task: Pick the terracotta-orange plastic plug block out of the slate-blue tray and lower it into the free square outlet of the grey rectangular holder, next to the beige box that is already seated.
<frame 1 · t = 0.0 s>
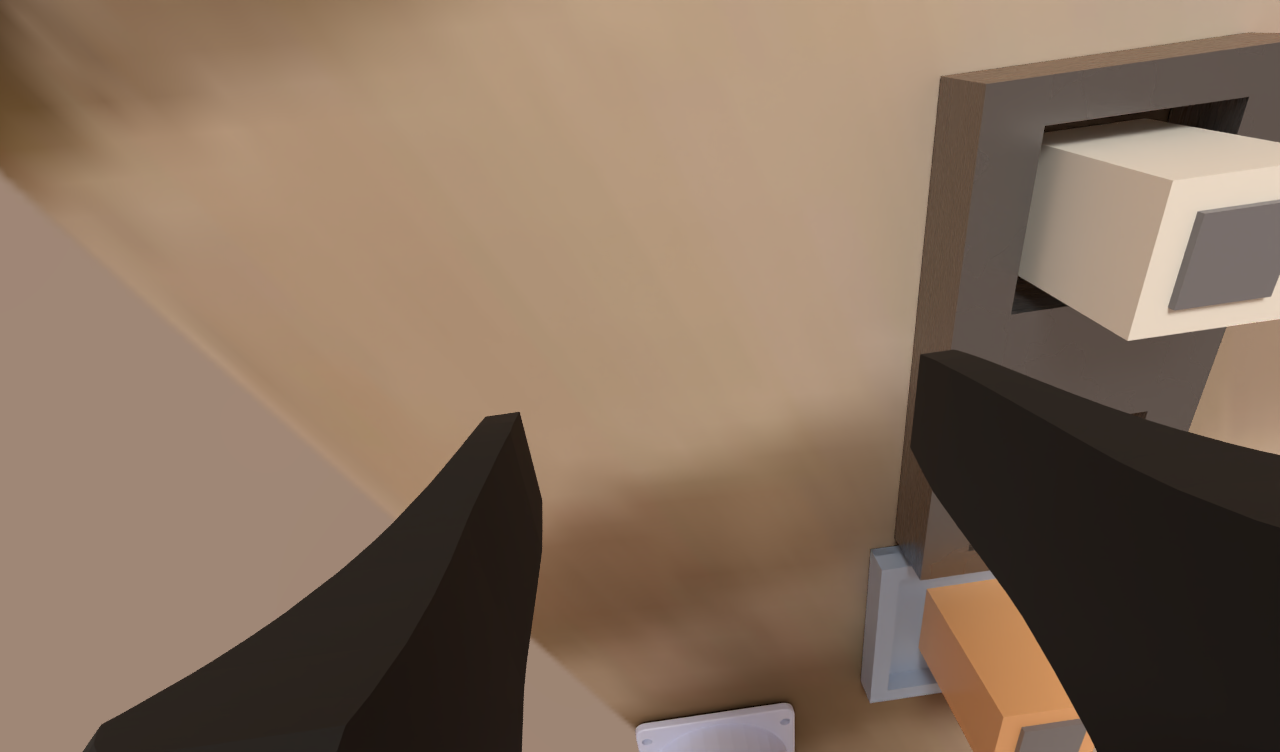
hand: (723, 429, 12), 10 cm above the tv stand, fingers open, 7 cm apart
tray: (960, 605, 30), on the tv stand
beige box: (1066, 193, 20), resting in grey rectangular holder
plug: (965, 612, 29), resting on tray
grey rectangular holder: (1037, 333, 23), on the tv stand
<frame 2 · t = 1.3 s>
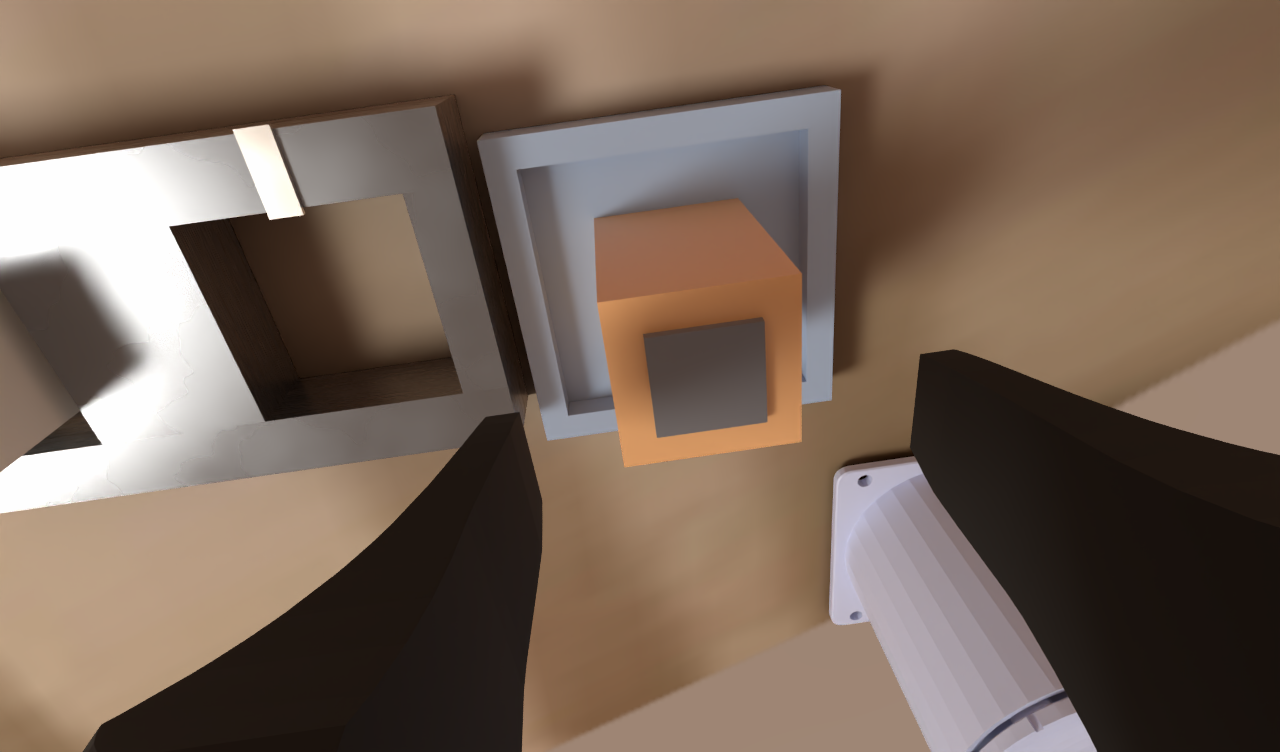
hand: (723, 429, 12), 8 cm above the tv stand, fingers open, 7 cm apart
tray: (671, 271, 19), on the tv stand
beige box: (11, 332, 18), resting in grey rectangular holder
plug: (672, 276, 19), resting on tray
grey rectangular holder: (184, 307, 18), on the tv stand
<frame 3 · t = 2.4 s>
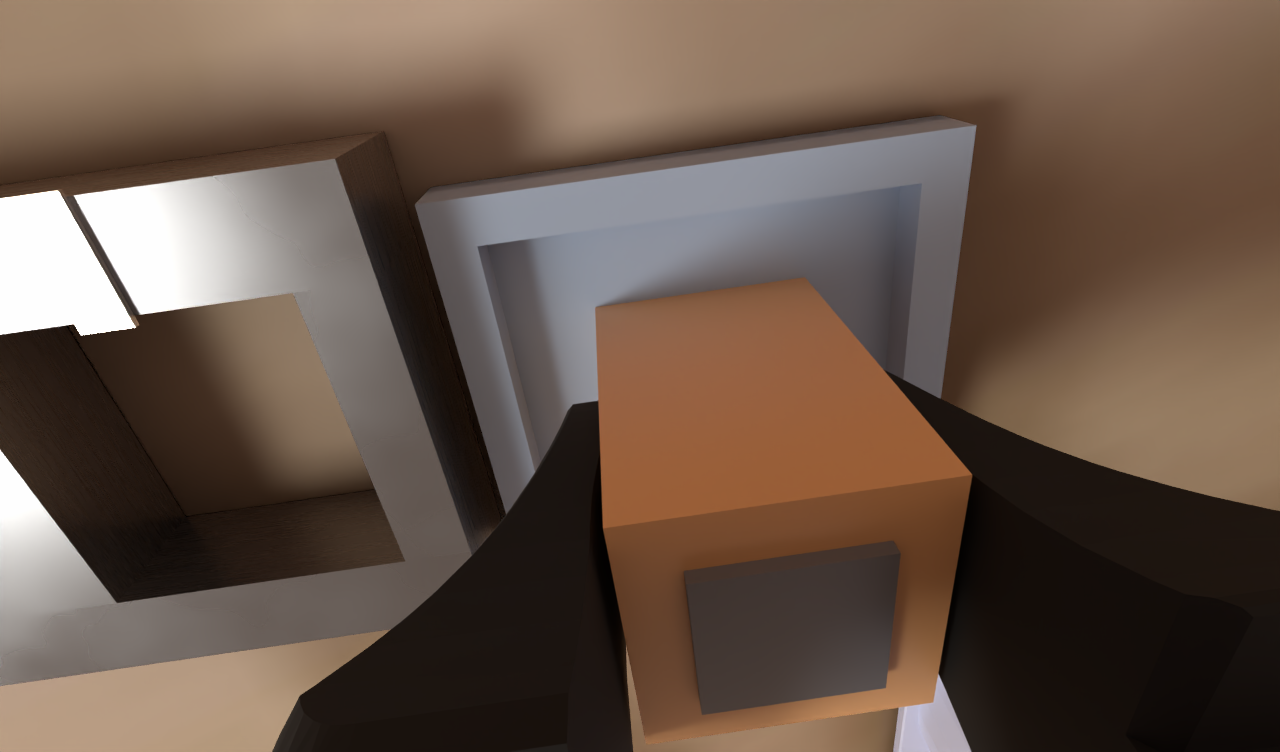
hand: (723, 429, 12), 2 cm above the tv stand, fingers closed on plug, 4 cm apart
tray: (704, 373, 13), on the tv stand
plug: (707, 383, 13), resting on tray, touching gripper
grey rectangular holder: (9, 429, 13), on the tv stand
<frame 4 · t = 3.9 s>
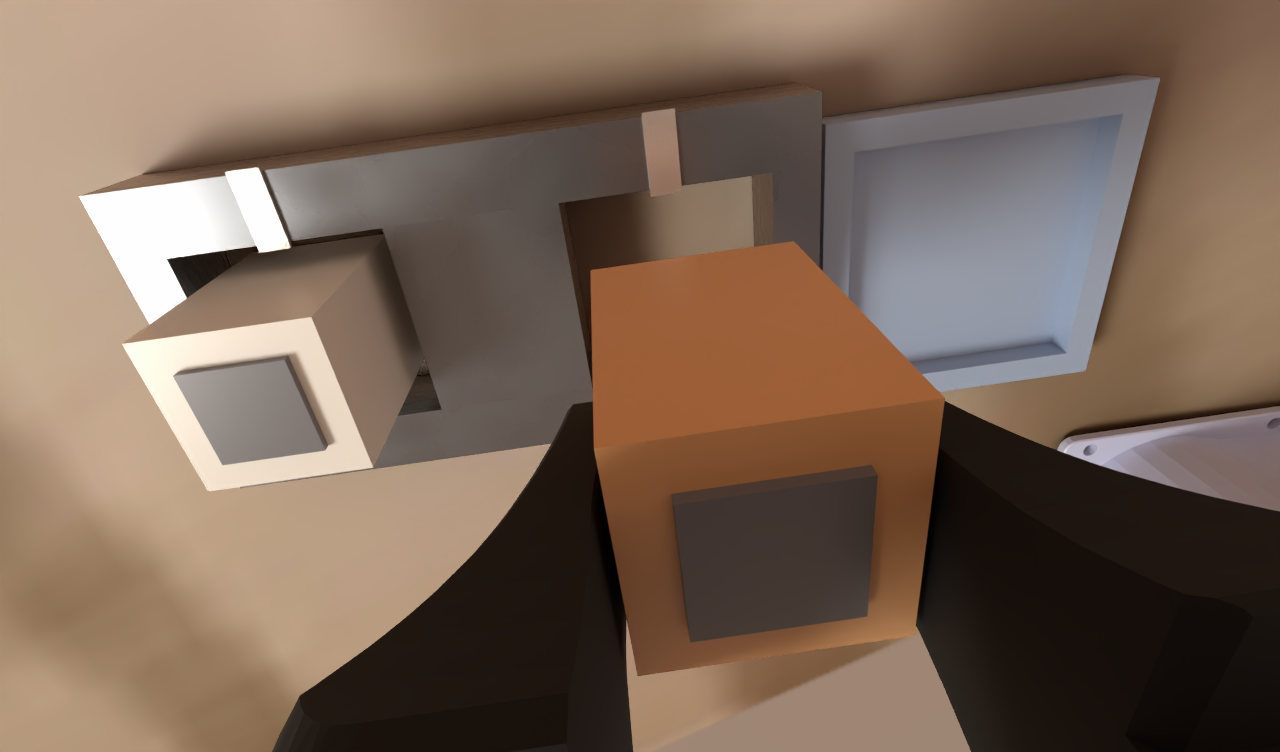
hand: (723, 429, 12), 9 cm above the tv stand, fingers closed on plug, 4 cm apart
tray: (950, 249, 20), on the tv stand
beige box: (343, 305, 20), resting in grey rectangular holder
plug: (700, 346, 13), point 7 cm above the tv stand, touching gripper
grey rectangular holder: (505, 282, 20), on the tv stand
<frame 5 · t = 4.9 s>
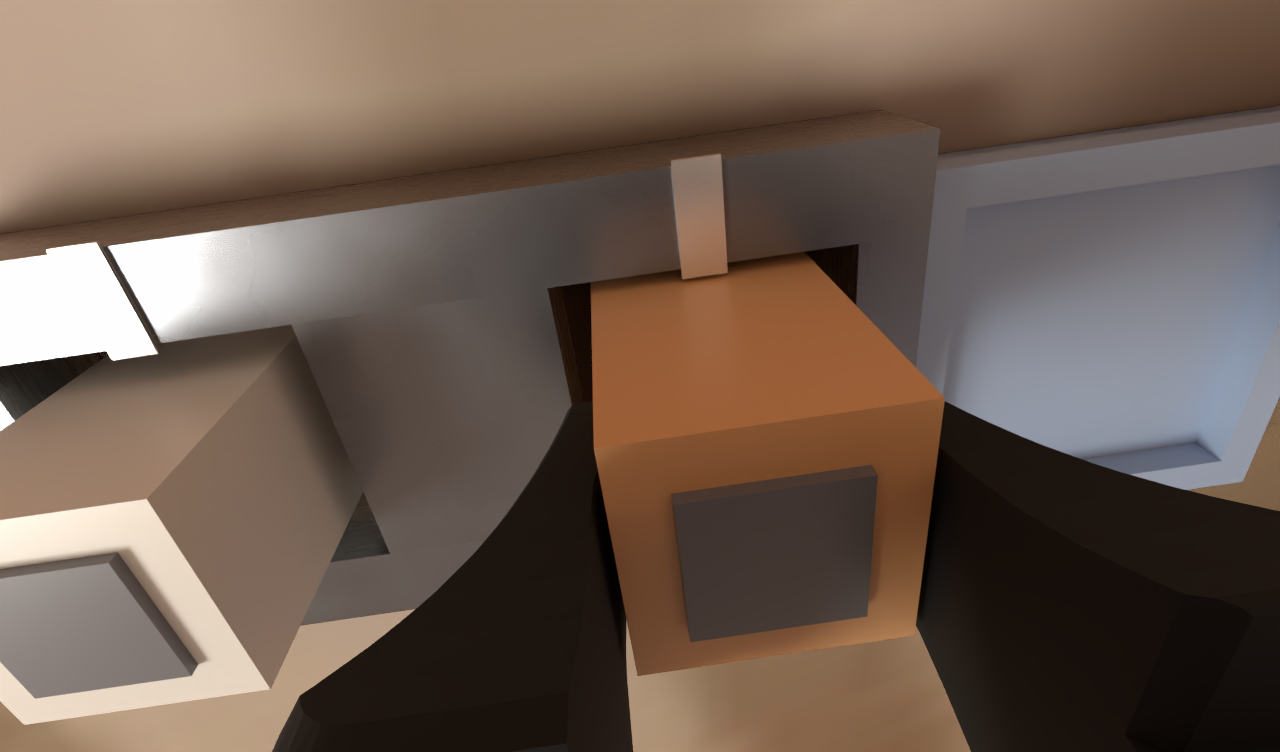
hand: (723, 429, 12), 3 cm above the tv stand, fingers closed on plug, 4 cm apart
tray: (1074, 328, 15), on the tv stand
beige box: (260, 406, 15), resting in grey rectangular holder
plug: (700, 346, 13), point 1 cm above the tv stand, touching gripper
grey rectangular holder: (478, 375, 15), on the tv stand
when the fingers open (3 cm above the tv stand, at t = 5.5 s): plug stays where it is, resting in grey rectangular holder.
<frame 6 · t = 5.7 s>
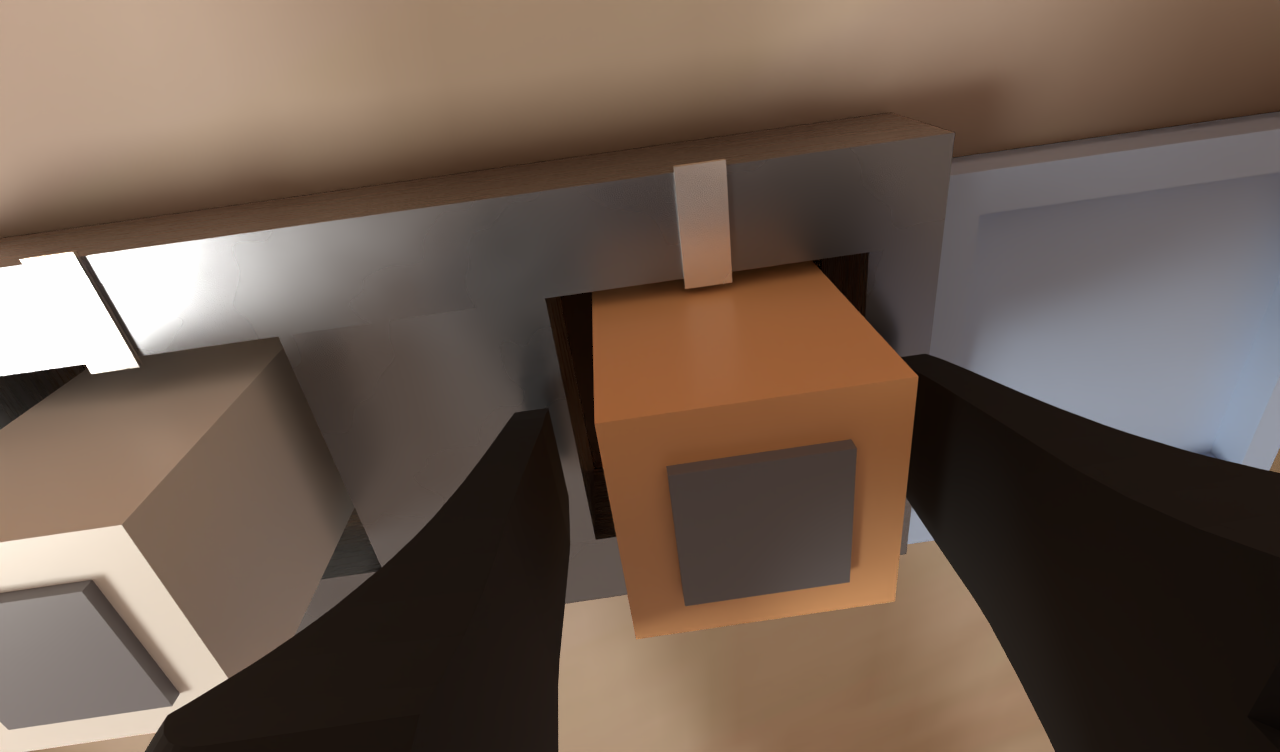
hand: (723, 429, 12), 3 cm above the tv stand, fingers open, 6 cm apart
tray: (1087, 336, 15), on the tv stand
beige box: (249, 418, 14), resting in grey rectangular holder
plug: (696, 334, 14), resting in grey rectangular holder
grey rectangular holder: (474, 385, 14), on the tv stand
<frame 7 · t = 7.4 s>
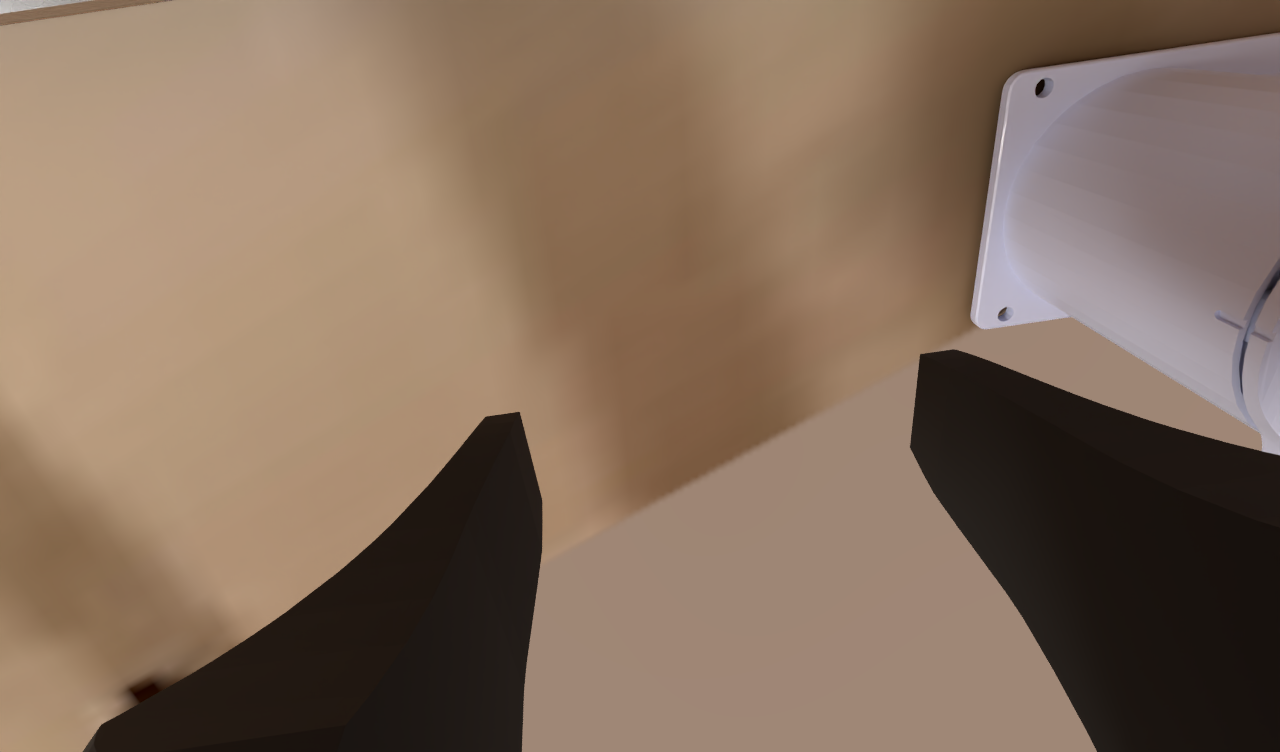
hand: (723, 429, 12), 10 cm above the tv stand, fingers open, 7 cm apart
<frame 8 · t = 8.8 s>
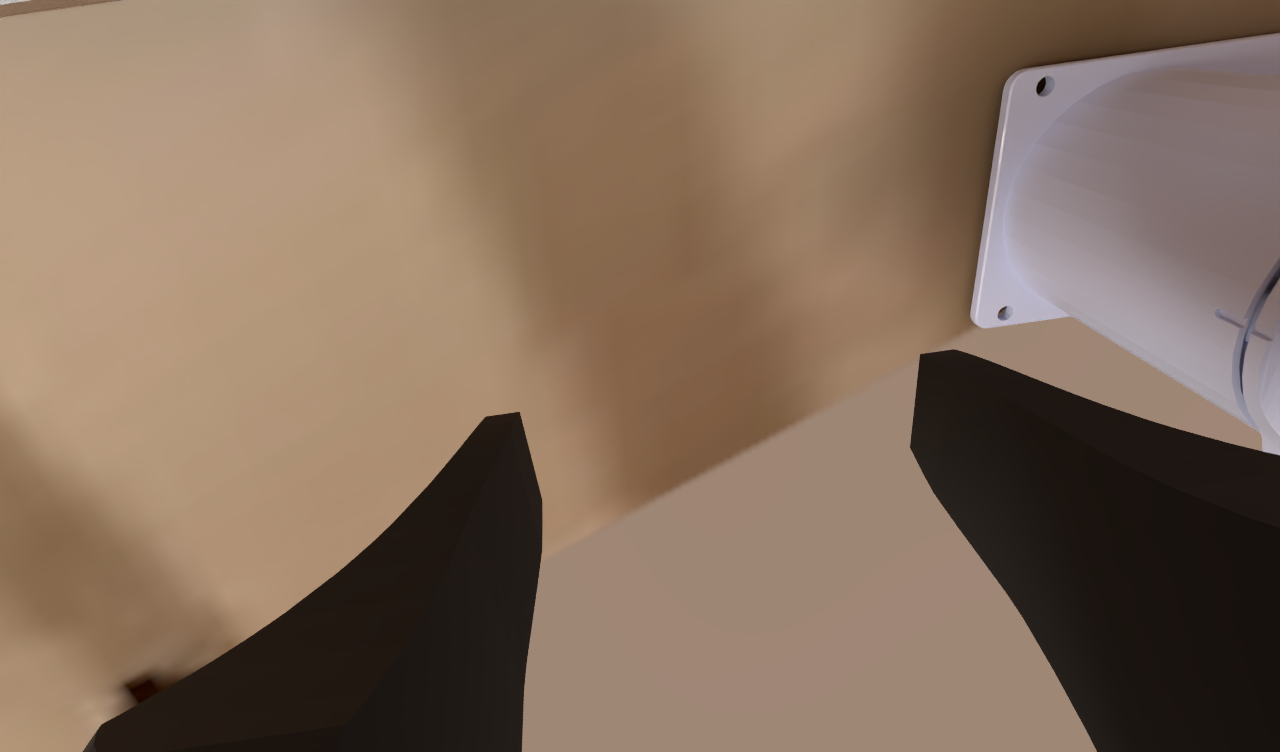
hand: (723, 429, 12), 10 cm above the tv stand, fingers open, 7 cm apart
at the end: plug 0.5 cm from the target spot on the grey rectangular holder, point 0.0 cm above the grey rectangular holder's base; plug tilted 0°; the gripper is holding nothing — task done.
